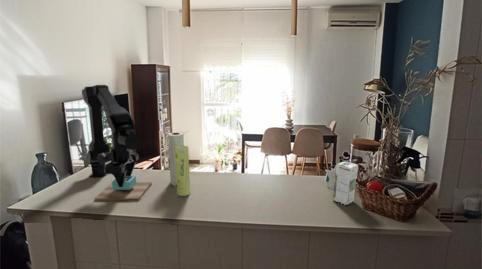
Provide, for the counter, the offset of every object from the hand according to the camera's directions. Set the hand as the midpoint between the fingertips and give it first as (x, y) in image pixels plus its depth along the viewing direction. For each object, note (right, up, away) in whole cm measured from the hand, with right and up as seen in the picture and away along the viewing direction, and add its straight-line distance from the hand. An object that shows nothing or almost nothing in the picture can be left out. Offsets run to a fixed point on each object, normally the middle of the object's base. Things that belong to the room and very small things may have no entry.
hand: (124, 183), depth 114 cm
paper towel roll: (+18, -2, +11) cm, 21 cm away
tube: (+23, -4, 0) cm, 23 cm away
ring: (0, -1, 0) cm, 1 cm away
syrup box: (+83, -6, -6) cm, 83 cm away
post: (0, -2, 0) cm, 2 cm away
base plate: (0, -3, +1) cm, 4 cm away
